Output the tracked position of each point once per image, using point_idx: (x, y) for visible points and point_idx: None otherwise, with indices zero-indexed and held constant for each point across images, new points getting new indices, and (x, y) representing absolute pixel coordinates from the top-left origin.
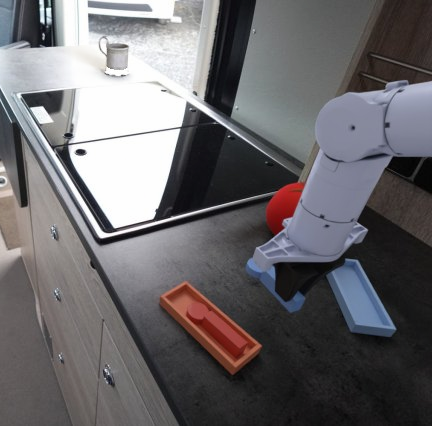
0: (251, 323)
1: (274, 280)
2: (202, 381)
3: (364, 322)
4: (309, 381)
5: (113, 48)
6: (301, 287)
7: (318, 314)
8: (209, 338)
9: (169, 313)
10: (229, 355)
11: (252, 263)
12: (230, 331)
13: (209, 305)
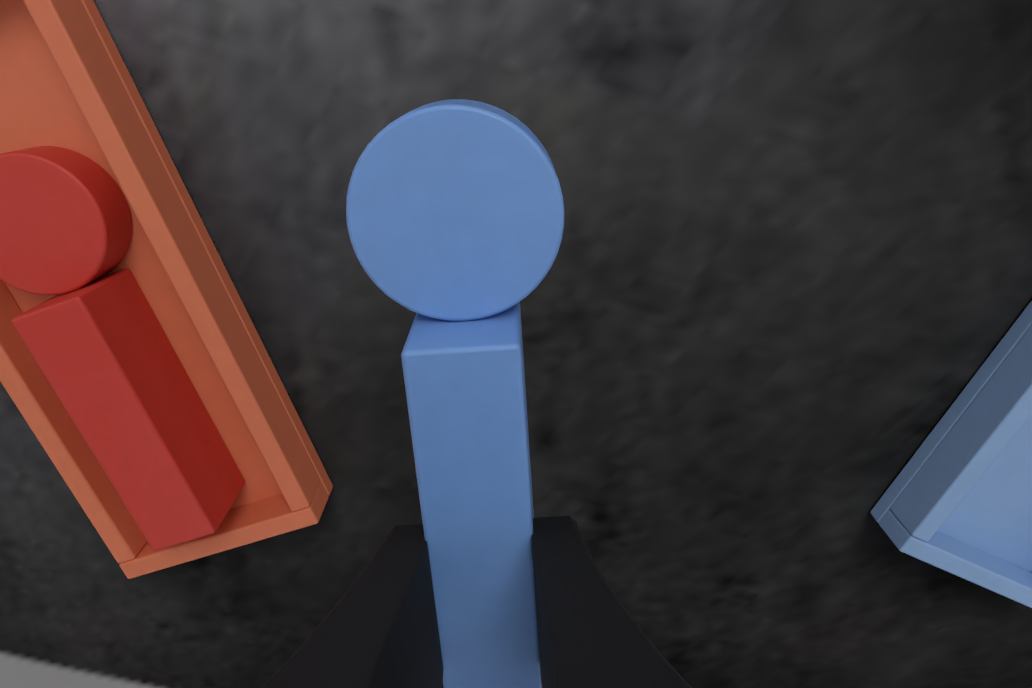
0: (396, 331)
1: (420, 491)
2: (10, 526)
3: (982, 508)
4: None
5: None
6: (542, 674)
7: (810, 383)
8: None
9: None
10: None
11: (401, 184)
12: (144, 455)
13: (134, 200)
